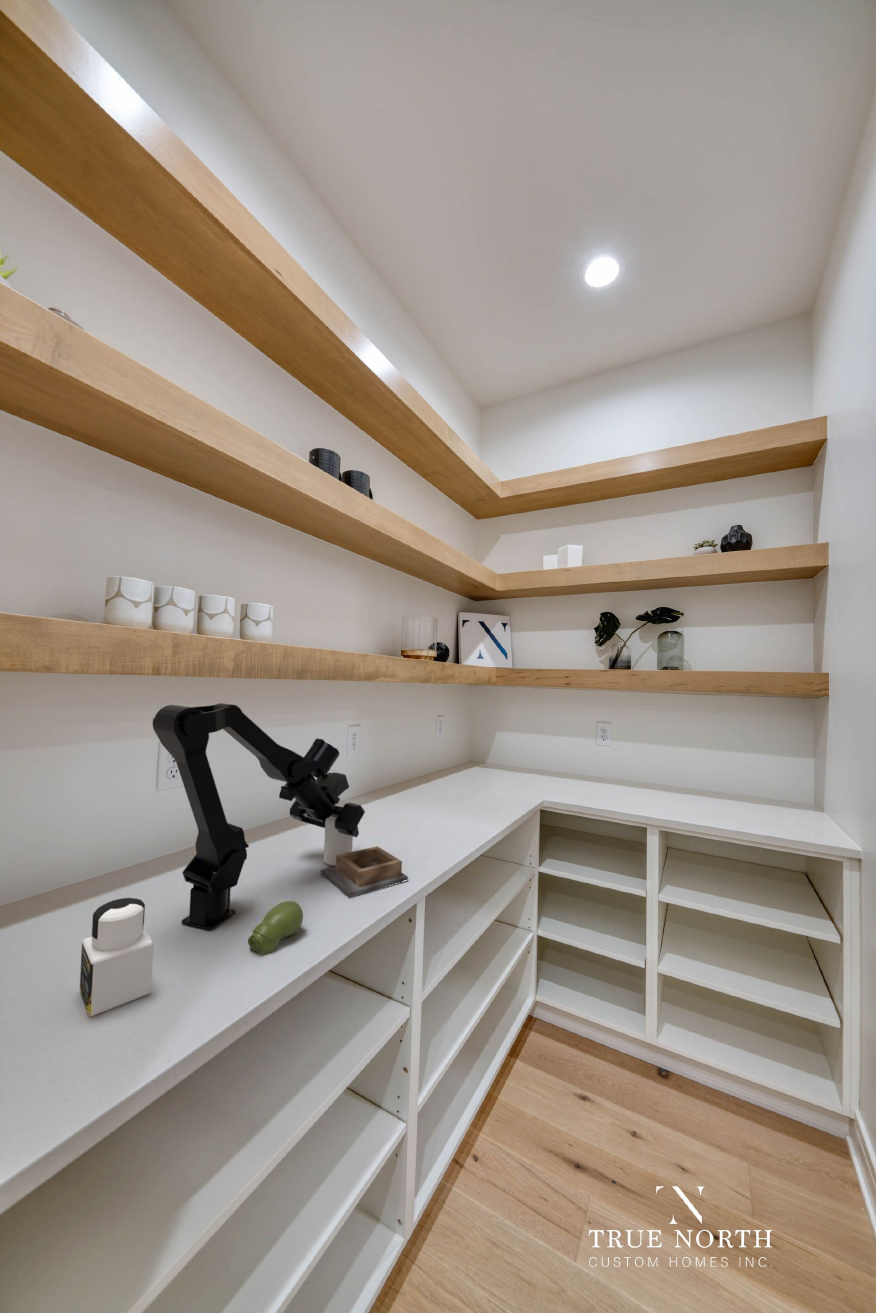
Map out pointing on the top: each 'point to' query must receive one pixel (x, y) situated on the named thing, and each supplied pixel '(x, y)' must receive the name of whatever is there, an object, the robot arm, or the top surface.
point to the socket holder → (364, 871)
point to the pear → (276, 927)
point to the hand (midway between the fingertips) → (343, 831)
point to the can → (335, 842)
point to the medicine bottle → (116, 957)
